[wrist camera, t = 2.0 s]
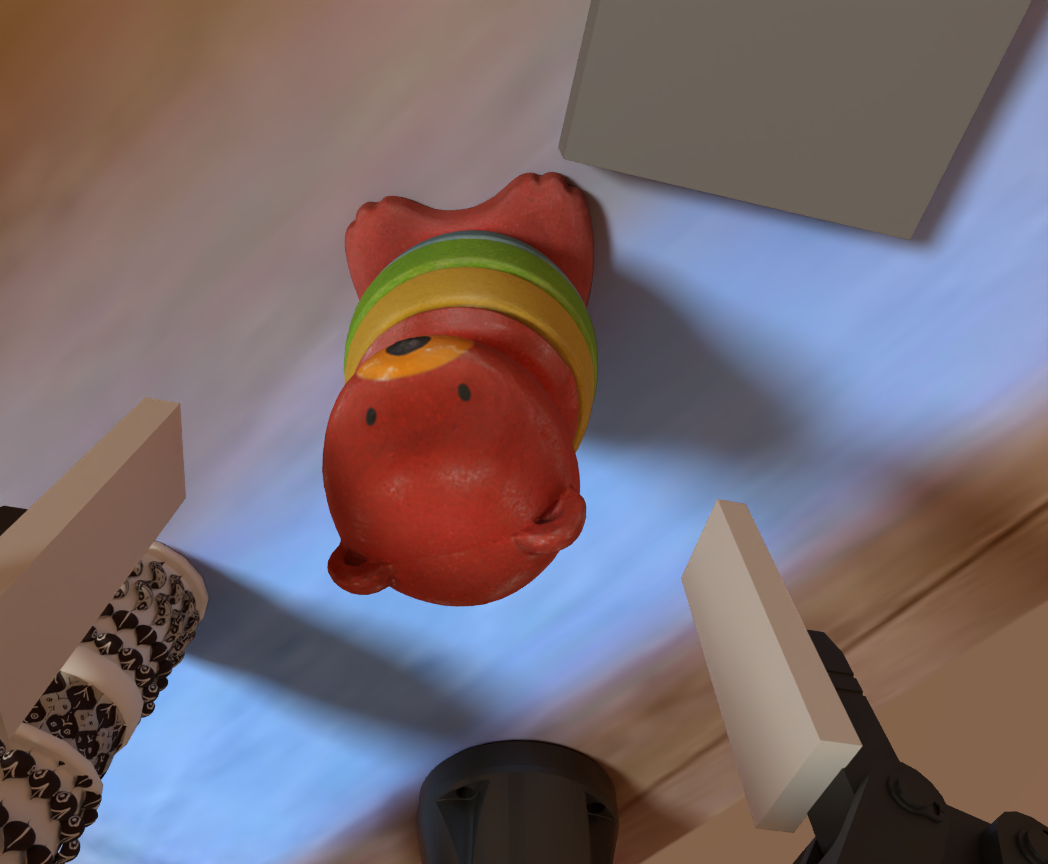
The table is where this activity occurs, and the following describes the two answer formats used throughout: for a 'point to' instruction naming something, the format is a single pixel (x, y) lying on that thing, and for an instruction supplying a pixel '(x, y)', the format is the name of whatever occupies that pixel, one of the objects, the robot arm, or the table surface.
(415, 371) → the stacking bear
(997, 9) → the gray block
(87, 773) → the decorative candle
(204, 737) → the table surface
